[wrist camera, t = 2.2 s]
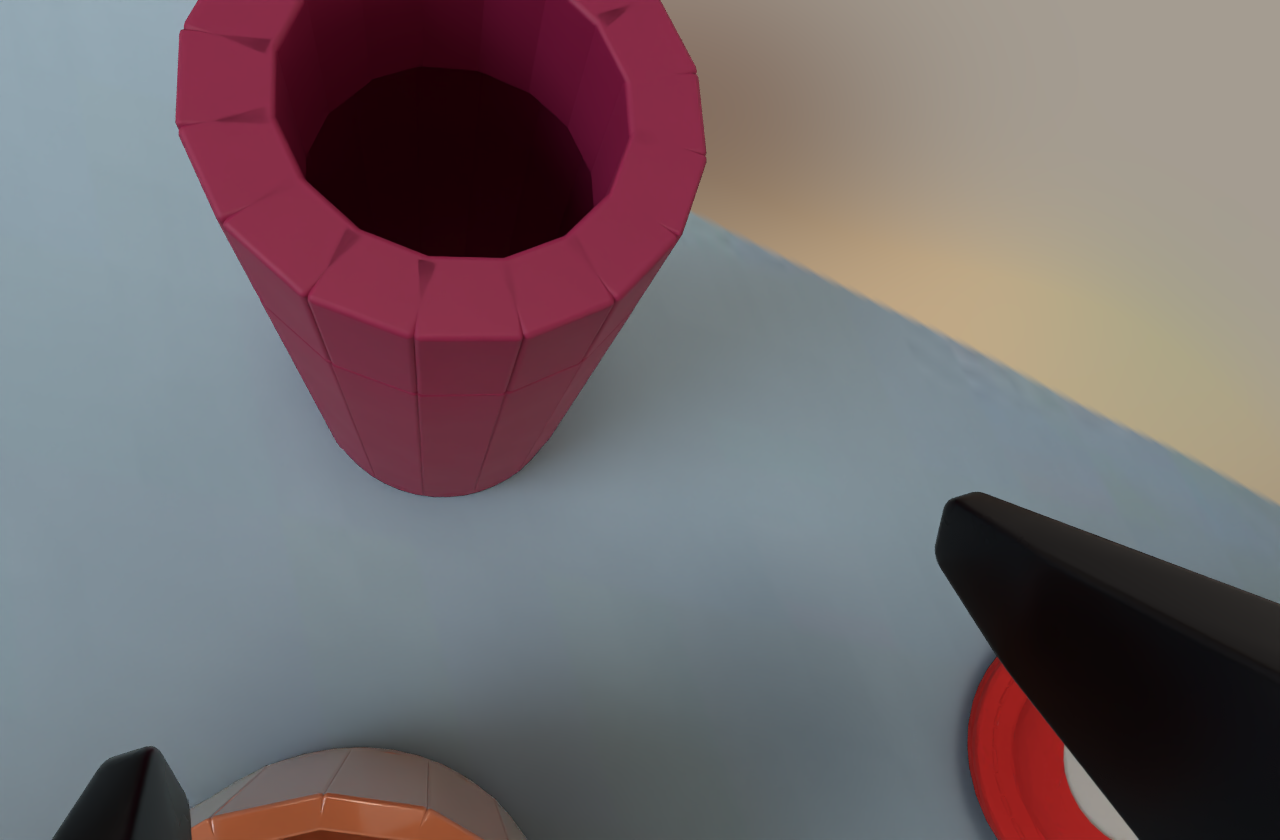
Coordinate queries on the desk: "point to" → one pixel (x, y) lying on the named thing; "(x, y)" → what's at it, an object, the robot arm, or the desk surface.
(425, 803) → the pot
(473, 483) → the crimson hollow cylinder
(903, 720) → the desk surface
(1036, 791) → the tracker holder
